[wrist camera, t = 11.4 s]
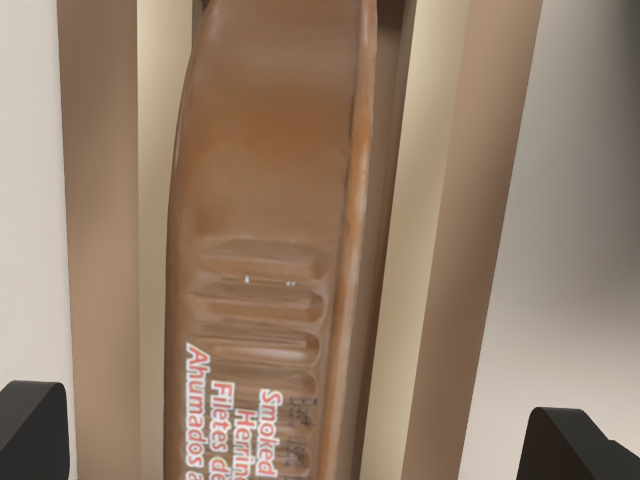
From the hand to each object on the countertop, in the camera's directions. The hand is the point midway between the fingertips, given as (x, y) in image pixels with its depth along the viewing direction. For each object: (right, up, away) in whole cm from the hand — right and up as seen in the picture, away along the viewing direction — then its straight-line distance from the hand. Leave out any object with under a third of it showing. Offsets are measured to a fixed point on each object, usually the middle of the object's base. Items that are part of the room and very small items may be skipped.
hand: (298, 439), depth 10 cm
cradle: (-1, +2, +7) cm, 8 cm away
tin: (-1, +2, +6) cm, 7 cm away
